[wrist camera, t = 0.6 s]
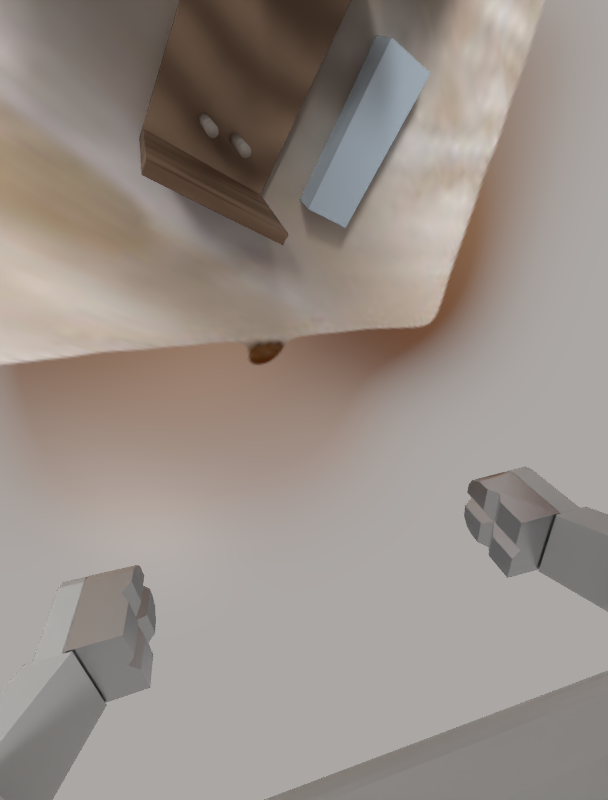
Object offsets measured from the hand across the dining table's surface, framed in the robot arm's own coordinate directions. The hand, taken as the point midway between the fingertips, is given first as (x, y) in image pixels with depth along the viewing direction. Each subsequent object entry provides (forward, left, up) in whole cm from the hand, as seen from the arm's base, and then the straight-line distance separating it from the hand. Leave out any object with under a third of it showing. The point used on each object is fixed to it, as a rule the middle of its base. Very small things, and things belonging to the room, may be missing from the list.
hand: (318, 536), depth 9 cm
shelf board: (-9, +19, -49) cm, 54 cm away
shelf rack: (-9, +4, -49) cm, 50 cm away
